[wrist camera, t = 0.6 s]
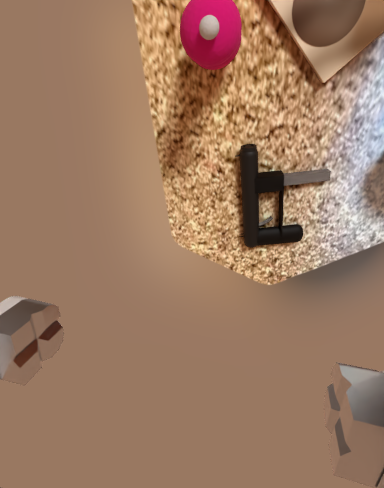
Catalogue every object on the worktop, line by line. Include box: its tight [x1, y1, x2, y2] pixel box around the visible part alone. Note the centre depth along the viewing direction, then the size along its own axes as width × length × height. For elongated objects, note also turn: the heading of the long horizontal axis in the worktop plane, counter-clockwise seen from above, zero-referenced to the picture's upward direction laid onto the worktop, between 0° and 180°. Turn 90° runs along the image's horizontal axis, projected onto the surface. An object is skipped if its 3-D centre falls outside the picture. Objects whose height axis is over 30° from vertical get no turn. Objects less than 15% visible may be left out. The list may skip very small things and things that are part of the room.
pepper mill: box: [180, 0, 241, 70], centre depth 33 cm, size 7×7×20 cm
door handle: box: [237, 144, 331, 248], centre depth 53 cm, size 3×20×16 cm
